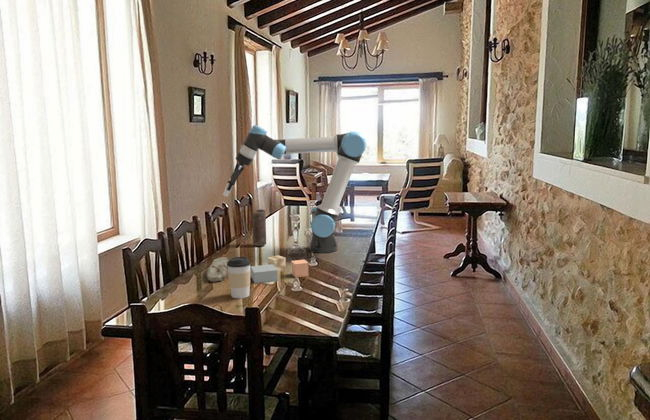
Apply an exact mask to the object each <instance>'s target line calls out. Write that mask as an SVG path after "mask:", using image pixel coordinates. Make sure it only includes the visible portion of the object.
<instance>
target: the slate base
mask: <svg viewBox="0 0 650 420" xmlns="http://www.w3.org/2000/svg"><path fill="white" fill-rule="evenodd" d="M250 270H251V271H250V279H252V282H253V283H254V284H262V283H264V284H265V283H273V282H278V281H279V272H278V270H277V269H276V267H275V266H274V265H273V264H270V265H268V264H263V265H252V266H251V265H250Z"/></svg>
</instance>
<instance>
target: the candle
mask: <svg viewBox="0 0 650 420" xmlns="http://www.w3.org/2000/svg"><path fill="white" fill-rule="evenodd" d="M266 213H267V212H266V210H265V209H255V210H252V245H253V246H255V247H262V246H264V245H267V221H266V220H267V219H266V218H267V217H266Z"/></svg>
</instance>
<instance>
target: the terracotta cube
mask: <svg viewBox="0 0 650 420" xmlns="http://www.w3.org/2000/svg"><path fill="white" fill-rule="evenodd" d="M290 263H291V275H292V276H293V277H294V278H301V277H309V276H310V275H309V262H308V261H307V260H306V259H296V260H291V262H290Z"/></svg>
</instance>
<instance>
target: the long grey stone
mask: <svg viewBox="0 0 650 420" xmlns="http://www.w3.org/2000/svg"><path fill="white" fill-rule="evenodd" d="M229 260H230V259H229V257H226V256H221V257H217V258H214V259H213V260H212V262H211V263H210V265H209V267H208V268H206V279H207V280H208V281H209V282H219V281H220V282H221V281H223V280H225V279H226V277H227V276H228V266H227V262H228V261H229Z"/></svg>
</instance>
